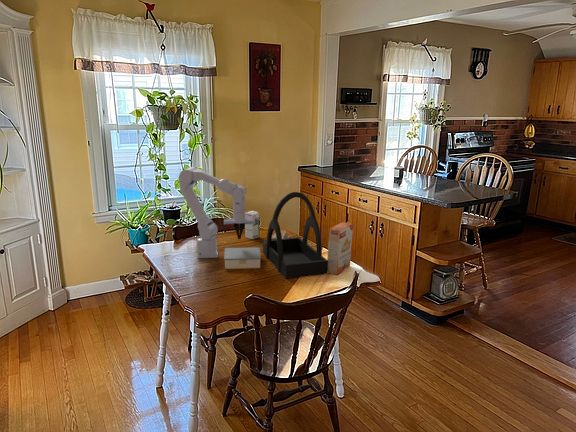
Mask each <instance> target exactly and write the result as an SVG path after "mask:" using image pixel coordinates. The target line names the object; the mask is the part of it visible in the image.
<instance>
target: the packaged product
mask: <svg viewBox="0 0 576 432" xmlns="http://www.w3.org/2000/svg"><path fill="white" fill-rule="evenodd" d="M280 230H281V236H282V239H286V238H291V236H290V235H287V230H284V229H283V230H282V229H280ZM275 239H277V238H276V233H275V231H273V234H272V239H271V240H275Z"/></svg>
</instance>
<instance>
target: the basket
mask: <svg viewBox="0 0 576 432" xmlns="http://www.w3.org/2000/svg"><path fill="white" fill-rule="evenodd" d="M294 198H299V199H301V200H302V201H303V202H304V203H305V205H306V207H307V209H308V212H309V216H308V217H307V218H306V221H305V223H304V227H303V234H302V238H301V237H289V238H286V239H282V236H281V230H282V229H281V227H280V223H279V216H280V213H281V212H282V209H283V208H284V206H285V205H286V204H287V203H288V202H289V201H291V200H292V199H294ZM310 229H313V232H314V237H315V242H316V249H314V248H313V247H312V246H310V245H309V244H308V238H309V237H308V236H309V232H310ZM274 232H275V233H276V238H277V239H275V240H271V239H272V235H273V234H274ZM322 244H323V243H322V235H321V230H320V226H319V223H318V221H317V218H316V213H315V210H314V207H313V204H312V202H311V200H310V199H309V197H308V196H306V195H305V194H304V193H302V192H298V191H292V192H289V193H287V194H285V195H284V196H283V197H282V198H281V199H280V200H279V202H278V204H277V205H276V207H275V210H274V212H273V216H272V219H271V220H270V222H269V224H268V227H267V234H266V239H265V240H262V253H263V255H264V256H265V259H267V260H269V261H270V263H271V264H272V265H273V266H274V267H275V268H276V269H277V273H279V274H281V275H282V277H284V279H285V280H288V279H297V278H298V279H299V278H305V277H311V276H312V277H313V276H320V275H321V276H322V275H328V272H327V268H328V260H327V258H326V257H324V256H323V252H322V251H323V249H322V248H323V246H322Z"/></svg>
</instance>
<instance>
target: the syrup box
mask: <svg viewBox="0 0 576 432" xmlns="http://www.w3.org/2000/svg"><path fill="white" fill-rule="evenodd" d="M245 219H251V220H255V225H253V224H245V227H244V230H245V231H244V233H245V236H244V237H245V238H246V239H250V240H254V239H257V238H260V211H259V212H258V211H255V210H251V211H246V212H245Z"/></svg>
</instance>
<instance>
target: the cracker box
mask: <svg viewBox="0 0 576 432" xmlns="http://www.w3.org/2000/svg"><path fill="white" fill-rule="evenodd" d="M353 232H354V223H350V222H344V221H342V222H340V223H338V224H336V225H333V226H332V227H330V228H329V229H328V245H327V258H326V260H328V268H327V274H332V275H335V276H338V275H339V274H341V273H342V272H343V271H345V270H346V269H348V268H349V267H350V266H351V258H352V247H353V244H352V243H353V242H352V241H353Z"/></svg>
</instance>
